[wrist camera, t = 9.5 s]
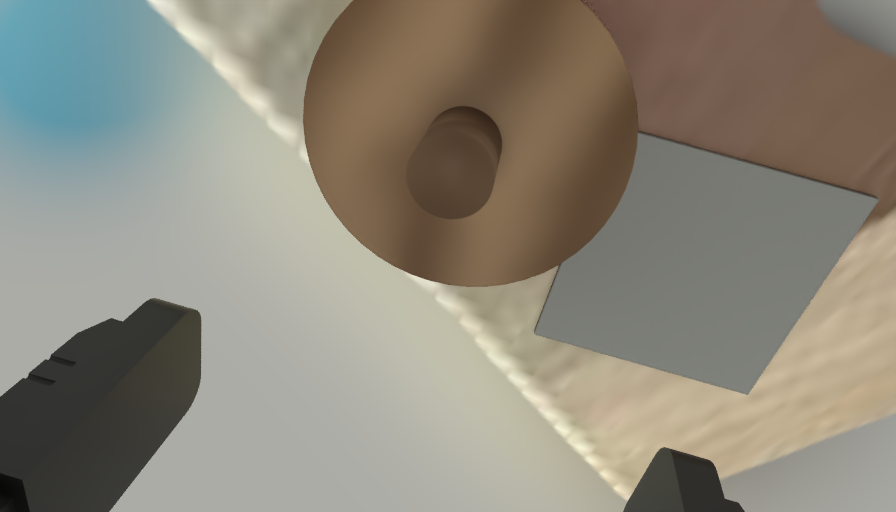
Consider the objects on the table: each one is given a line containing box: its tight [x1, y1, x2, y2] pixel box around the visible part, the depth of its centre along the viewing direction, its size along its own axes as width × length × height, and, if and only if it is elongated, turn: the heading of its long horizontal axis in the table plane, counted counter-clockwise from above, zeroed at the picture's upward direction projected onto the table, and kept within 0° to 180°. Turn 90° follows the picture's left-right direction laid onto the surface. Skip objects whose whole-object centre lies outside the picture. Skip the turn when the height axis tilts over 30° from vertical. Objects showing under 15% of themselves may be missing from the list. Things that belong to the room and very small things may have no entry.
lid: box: [303, 0, 638, 287], centre depth 23 cm, size 14×14×5 cm
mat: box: [534, 131, 879, 395], centre depth 36 cm, size 15×15×1 cm
